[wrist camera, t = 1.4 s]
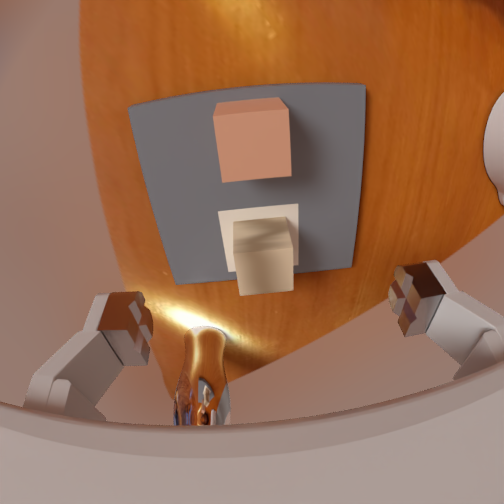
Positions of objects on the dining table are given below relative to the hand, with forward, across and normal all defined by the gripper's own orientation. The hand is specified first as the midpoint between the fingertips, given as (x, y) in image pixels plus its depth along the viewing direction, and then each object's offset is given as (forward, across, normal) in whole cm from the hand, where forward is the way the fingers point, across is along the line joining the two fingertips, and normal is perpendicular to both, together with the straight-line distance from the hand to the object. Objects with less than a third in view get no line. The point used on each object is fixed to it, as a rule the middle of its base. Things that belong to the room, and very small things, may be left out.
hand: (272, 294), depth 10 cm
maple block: (+19, -1, +11) cm, 22 cm away
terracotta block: (+19, 0, 0) cm, 19 cm away
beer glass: (+21, +8, +29) cm, 36 cm away
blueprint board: (+20, -1, +6) cm, 21 cm away
